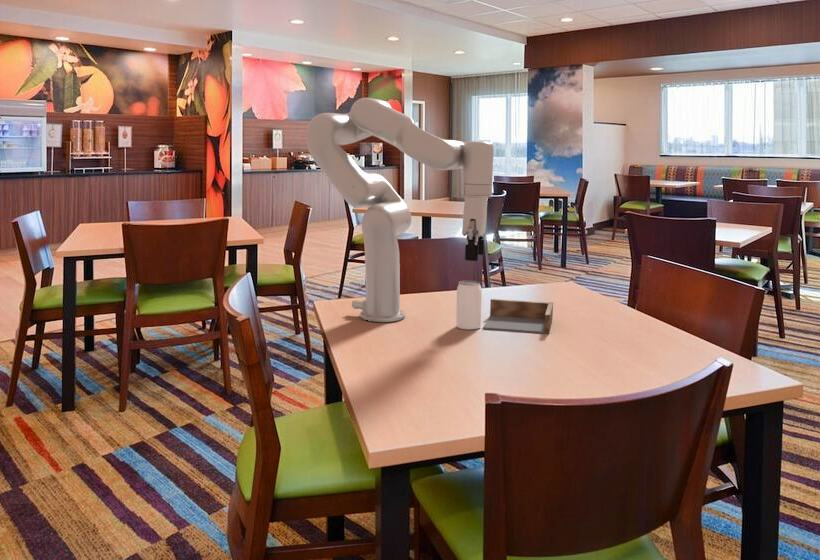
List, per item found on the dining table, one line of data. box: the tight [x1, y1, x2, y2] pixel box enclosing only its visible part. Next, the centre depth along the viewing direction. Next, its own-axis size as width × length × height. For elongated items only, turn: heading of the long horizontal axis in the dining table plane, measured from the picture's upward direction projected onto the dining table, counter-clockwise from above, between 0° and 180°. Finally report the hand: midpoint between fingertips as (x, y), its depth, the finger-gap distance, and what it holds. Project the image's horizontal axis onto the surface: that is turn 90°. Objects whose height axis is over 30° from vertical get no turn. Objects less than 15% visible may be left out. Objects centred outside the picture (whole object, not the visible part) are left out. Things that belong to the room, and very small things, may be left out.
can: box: [456, 280, 483, 331], centre depth 176 cm, size 6×6×12 cm
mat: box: [482, 315, 551, 334], centre depth 179 cm, size 17×14×1 cm
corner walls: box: [489, 298, 554, 335], centre depth 179 cm, size 17×14×5 cm
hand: (474, 257), depth 173 cm, fingers open, 9 cm apart
